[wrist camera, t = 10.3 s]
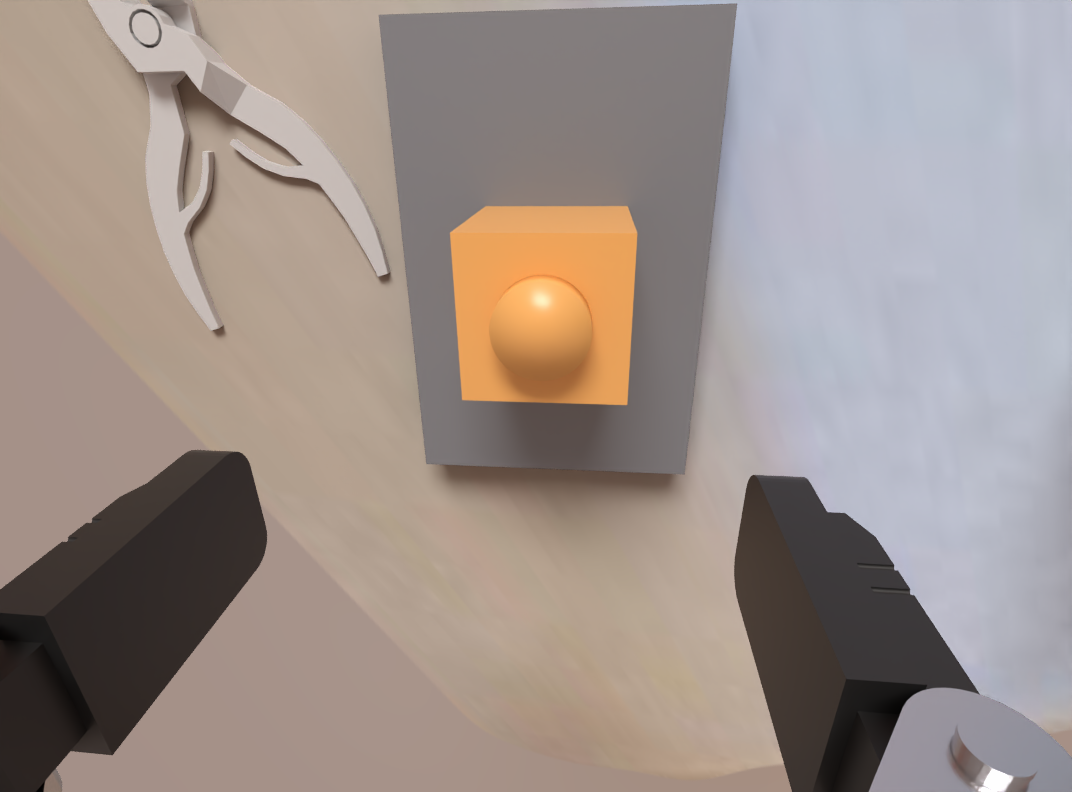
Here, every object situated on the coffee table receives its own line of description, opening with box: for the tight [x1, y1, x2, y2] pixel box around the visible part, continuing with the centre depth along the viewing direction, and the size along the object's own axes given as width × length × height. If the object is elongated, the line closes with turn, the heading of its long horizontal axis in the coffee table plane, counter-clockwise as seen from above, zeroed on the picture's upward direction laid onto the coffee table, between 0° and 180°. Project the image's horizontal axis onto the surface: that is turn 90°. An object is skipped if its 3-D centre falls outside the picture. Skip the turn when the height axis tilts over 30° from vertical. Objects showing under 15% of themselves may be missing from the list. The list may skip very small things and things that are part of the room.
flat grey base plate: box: [379, 4, 737, 474], centre depth 22 cm, size 12×18×7 cm, turn 0°
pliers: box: [88, 0, 390, 331], centre depth 24 cm, size 10×2×15 cm
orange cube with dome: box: [450, 206, 637, 405], centre depth 20 cm, size 5×5×7 cm
